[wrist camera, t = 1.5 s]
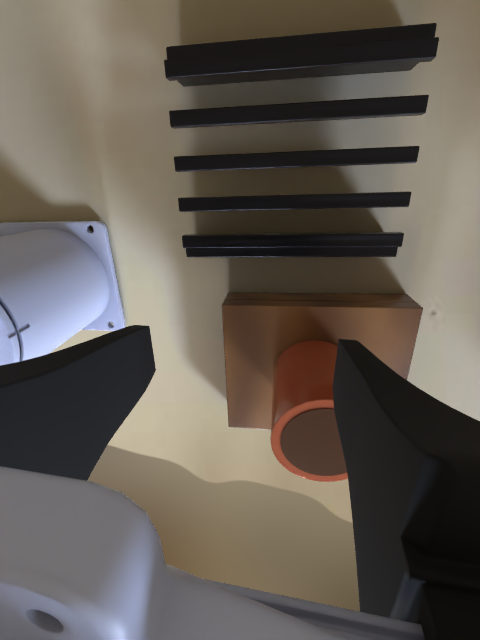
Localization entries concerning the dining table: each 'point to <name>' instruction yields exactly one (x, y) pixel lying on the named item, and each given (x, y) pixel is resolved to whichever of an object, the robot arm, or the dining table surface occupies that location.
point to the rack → (290, 63)
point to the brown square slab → (305, 338)
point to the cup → (307, 412)
